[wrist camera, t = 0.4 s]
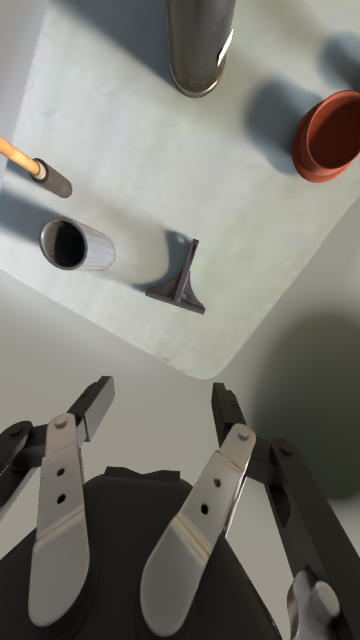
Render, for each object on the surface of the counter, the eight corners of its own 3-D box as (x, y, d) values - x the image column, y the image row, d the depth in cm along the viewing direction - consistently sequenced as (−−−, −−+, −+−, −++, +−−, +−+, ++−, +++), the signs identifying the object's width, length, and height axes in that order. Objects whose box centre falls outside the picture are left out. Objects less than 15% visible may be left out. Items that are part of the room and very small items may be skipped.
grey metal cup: (78, 231, 36) (34, 215, 26) (114, 233, 36) (84, 217, 26) (82, 269, 39) (43, 269, 28) (116, 271, 38) (90, 271, 28)
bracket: (226, 252, 37) (229, 250, 34) (202, 313, 41) (203, 316, 38) (164, 229, 36) (162, 226, 33) (146, 294, 40) (143, 296, 37)
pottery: (272, 158, 32) (285, 140, 27) (366, 36, 27) (400, -8, 22) (313, 201, 33) (331, 191, 29) (407, 95, 28) (446, 64, 24)
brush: (53, 177, 34) (-58, 97, 18) (70, 177, 33) (-26, 98, 18) (56, 197, 35) (-47, 139, 19) (73, 198, 34) (-17, 140, 19)
